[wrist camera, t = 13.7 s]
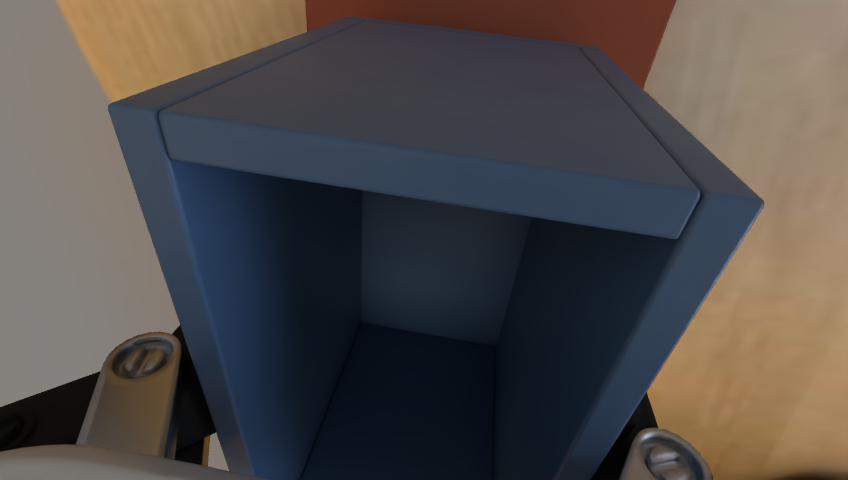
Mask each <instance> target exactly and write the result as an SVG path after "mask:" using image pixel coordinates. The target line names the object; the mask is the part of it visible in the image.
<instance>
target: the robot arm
mask: <svg viewBox="0 0 848 480" xmlns="http://www.w3.org/2000/svg"><path fill="white" fill-rule="evenodd" d="M215 432H216V430H215V427H214V424H213V421H212V418H211V415H210V412H209V409H208V406H207V403H206V400H205V397H204V394H203V391H202V388H201V385H200V382H199V379H198V376H197V373H196V370H195V367H194V364H193V361H192V358H191V355H190V352H189V349H188V346H187V343H186V340H185V337H184V334H183V331H182V328H181V325H180V326H179V327H178V328H177V329H176V330H175V331H174V332H173V334H170V333H164V332H149V333H145V334H141V335H138V336H135V337H133V338H131V339H128V340H126V341H125V342H123V343H122V344H120V345H119V346H117V347H116V348H115V349H114V350H113V351H112V352H111V353H110V354H109V355H108V356H107V358H106V360H105V362H104V364H103V367H102V369H101V371H100V372H97V373H95V374H92V375H89V376H86V377H83V378H80V379H78V380H75V381H72V382H70V383H66V384H64V385H61V386H58V387H56V388H53V389H50V390H47V391H44V392H41V393H39V394H36V395H33V396H30V397H27V398H25V399H22V400H19V401H16V402H14V403H11V404H8V405H5V406H3V407H0V480H268V479H263V478H258V477H254V476H249V475H244V474H240V473H235V472H230V471H226V470H221V469H216V468H212V467H208V455H209V443H210V442H209V441H210V435H211V434H213V433H215ZM591 480H713V476H712V473H711V471H710V468H709V466H708V464H707V463H706V461H705V460H704V458H703V457H702V455H701V454H700V453H699V452H698V451H697V450H696V449H695V448H694V447H693V446H692V445H691V444H690V443H689V442H687V441H686V440H685V439H683V438H682V437H680V436H679V435H677V434H675V433H672V432H670V431H668V430H664V429H660V428H658V425H657V422H656V419H655V416H654V413H653V410H652V407H651V404H650V401H649V398H648V395H647V392H646V393H645V395H644V397H643V398H642V400H641V401H640V403H639V405H638V406H637V408H636V409H635V411H634V412H633V414H632V416H631V417H630V419H629V420H628V422H627V423H626V425H625V427H624V428H623V430H622V431H621V433H620V434H619V436H618V438H617V439H616V441H615V442H614V444H613V446H612V447H611V449H610V450H609V452H608V453H607V455H606V457H605V458H604V460H603V461H602V463H601V464H600V466H599V468H598V469H597V471H596V472H595V474H594V475H593V477H592V479H591Z"/></svg>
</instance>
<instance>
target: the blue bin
mask: <svg viewBox="0 0 848 480" xmlns="http://www.w3.org/2000/svg"><path fill="white" fill-rule="evenodd" d="M108 111H109V114H110V117H111V120H112V123H113V126H114V129H115V132H116V134H117V138H118V141H119V143H120V147H121V150H122V153H123V155H124V159H125V161H126V165H127V167H128V170H129V173H130V176H131V179H132V182H133V185H134V188H135V191H136V194H137V197H138V200H139V203H140V206H141V209H142V212H143V215H144V218H145V221H146V224H147V227H148V230H149V233H150V236H151V239H152V242H153V245H154V248H155V251H156V254H157V257H158V260H159V263H160V266H161V269H162V272H163V275H164V278H165V281H166V284H167V286H168V290H169V292H170V295H171V298H172V301H173V304H174V307H175V310H176V313H177V316H178V319H179V322H180V325H181V328H182V331H183V334H184V337H185V340H186V343H187V346H188V349H189V352H190V355H191V358H192V361H193V364H194V367H195V370H196V373H197V376H198V379H199V382H200V385H201V388H202V391H203V394H204V397H205V400H206V403H207V406H208V409H209V412H210V415H211V418H212V421H213V424H214V427H215V430H216V433H217V436H218V438H219V441H220V444H221V447H222V450H223V453H224V456H225V459H226V462H227V465H228V468H229V471H230V472H235V473H240V474H244V475H249V476H254V477H258V478H263V479H268V480H591V479H592V477H593V475H594V474H595V472H596V471H597V469H598V468H599V466H600V464H601V463H602V461H603V460H604V458H605V457H606V455H607V453H608V452H609V450H610V449H611V447H612V446H613V444H614V442H615V441H616V439H617V438H618V436H619V434H620V433H621V431H622V430H623V428H624V427H625V425H626V423H627V422H628V420H629V419H630V417H631V416H632V414H633V412H634V411H635V409H636V408H637V406H638V405H639V403H640V401H641V400H642V398H643V397H644V395H645V393H646V392H647V390H648V389H649V387H650V386H651V384H652V382H653V381H654V379H655V378H656V376H657V375H658V373H659V371H660V370H661V368H662V367H663V365H664V363H665V362H666V360H667V359H668V357H669V356H670V354H671V352H672V351H673V349H674V348H675V346H676V345H677V343H678V341H679V340H680V338H681V337H682V335H683V334H684V332H685V330H686V329H687V327H688V326H689V324H690V322H691V321H692V319H693V318H694V316H695V315H696V313H697V311H698V310H699V308H700V307H701V305H702V304H703V302H704V300H705V299H706V297H707V296H708V294H709V293H710V291H711V289H712V288H713V286H714V285H715V283H716V281H717V280H718V278H719V277H720V275H721V274H722V272H723V270H724V269H725V267H726V266H727V264H728V263H729V261H730V259H731V258H732V256H733V255H734V253H735V251H736V250H737V248H738V247H739V245H740V244H741V242H742V240H743V239H744V237H745V236H746V234H747V233H748V231H749V229H750V228H751V226H752V225H753V223H754V222H755V220H756V218H757V217H758V215H759V214H760V212H761V210H762V209H763V207H764V201H763V200H762V199H761V198H760V197H759V196H758V195H757V194H756V193H755V192H754V191H753V190H752V189H750V188H749V187H748V186H747V185H746V184H745V183H744V182H743V181H742V180H741V179H740V178H739V177H737V176H736V175H735V174H734V173H733V172H732V171H731V170H730V169H729V168H728V167H727V166H726V165H724V164H723V163H722V162H721V161H720V160H719V159H718V158H717V157H716V156H715V155H714V154H713V153H711V152H710V151H709V150H708V149H707V148H706V147H705V146H704V145H703V144H702V143H701V142H700V141H698V140H697V139H696V138H695V137H694V136H693V135H692V134H691V133H690V132H689V131H688V130H686V129H685V128H684V127H683V126H682V125H681V124H680V123H679V122H678V121H677V120H676V119H675V118H673V117H672V116H671V115H670V114H669V113H668V112H667V111H666V110H665V109H664V108H663V107H662V106H660V105H659V104H658V103H657V102H656V101H655V100H654V99H653V98H652V97H651V96H650V95H649V94H647V93H646V92H645V91H644V90H643V89H642V88H641V87H640V86H639V85H638V84H637V83H636V82H634V81H633V80H632V79H631V78H630V77H629V76H628V75H627V74H626V73H625V72H624V71H623V70H621V69H620V68H619V67H618V66H617V65H616V64H615V63H614V62H613V61H612V60H611V59H609V58H608V57H607V56H606V55H605V54H604V53H603V52H602V51H601V50H600V49H599V48H598V47H596V46H589V45H581V44H573V43H565V42H557V41H549V40H541V39H533V38H525V37H517V36H509V35H501V34H493V33H485V32H477V31H469V30H461V29H453V28H445V27H437V26H428V25H420V24H412V23H404V22H396V21H388V20H380V19H372V18H364V17H356V16H349V17H346V18H344V19H342V20H339V21H336V22H333V23H331V24H328V25H325V26H322V27H320V28H317V29H314V30H311V31H309V32H306V33H303V34H300V35H298V36H295V37H292V38H289V39H287V40H284V41H281V42H278V43H276V44H273V45H270V46H267V47H265V48H262V49H259V50H256V51H254V52H251V53H248V54H245V55H243V56H240V57H237V58H234V59H232V60H229V61H226V62H223V63H221V64H218V65H215V66H212V67H210V68H207V69H204V70H201V71H199V72H196V73H193V74H190V75H188V76H185V77H182V78H179V79H177V80H174V81H171V82H168V83H166V84H163V85H160V86H157V87H155V88H152V89H149V90H146V91H144V92H141V93H138V94H135V95H133V96H130V97H127V98H124V99H122V100H119V101H116V102H113V103H111V104H109V106H108Z"/></svg>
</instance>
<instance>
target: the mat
mask: <svg viewBox="0 0 848 480" xmlns="http://www.w3.org/2000/svg"><path fill="white" fill-rule="evenodd" d="M305 1H306V18H307V32H309V31H311V30H314V29H317V28H320V27H322V26H325V25H328V24H331V23H333V22H336V21H339V20H342V19H344V18H346V17H349V16H356V17H364V18H372V19H380V20H388V21H396V22H404V23H412V24H420V25H428V26H437V27H445V28H453V29H461V30H469V31H477V32H485V33H493V34H501V35H509V36H517V37H525V38H533V39H541V40H549V41H557V42H565V43H573V44H581V45H589V46H596V47H598V48H599V49H600V50H601V51H602V52H603V53H604V54H605V55H606V56H607V57H608V58H609V59H611V60H612V61H613V62H614V63H615V64H616V65H617V66H618V67H619V68H620V69H621V70H623V71H624V72H625V73H626V74H627V75H628V76H629V77H630V78H631V79H632V80H633V81H634V82H636V83H637V84H638V85H639V86H640V87H641V88H642V89H643V87H644V84H645V81H646V79H647V76H648V73H649V71H650V68H651V66H652V63H653V60H654V58H655V55H656V52H657V50H658V47H659V44H660V42H661V39H662V36H663V34H664V31H665V28H666V26H667V23H668V20H669V18H670V15H671V12H672V10H673V7H674V4H675V2H676V0H305Z"/></svg>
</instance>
